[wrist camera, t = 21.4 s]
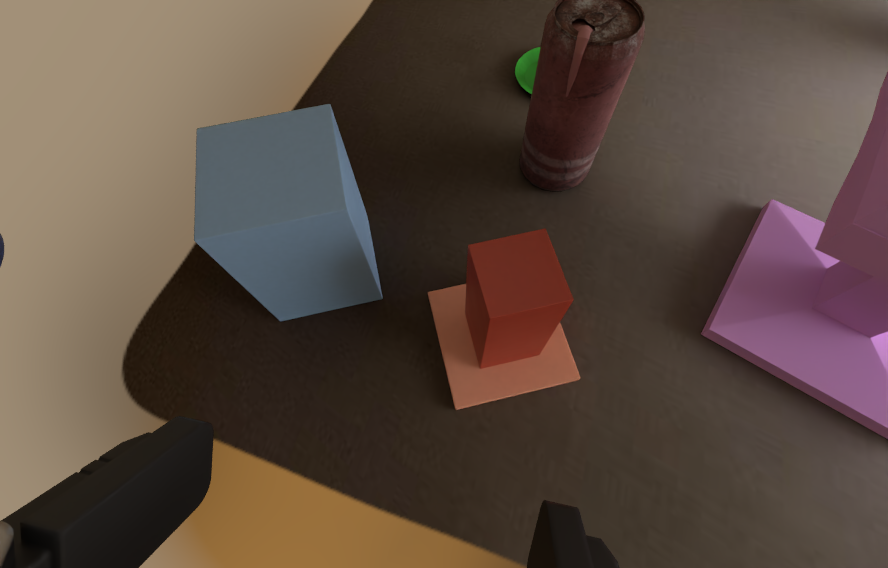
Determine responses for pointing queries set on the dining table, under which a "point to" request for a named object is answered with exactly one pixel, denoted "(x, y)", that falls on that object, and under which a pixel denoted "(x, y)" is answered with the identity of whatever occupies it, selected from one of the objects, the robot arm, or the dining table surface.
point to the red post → (514, 296)
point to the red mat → (499, 379)
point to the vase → (820, 291)
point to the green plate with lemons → (527, 69)
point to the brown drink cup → (578, 87)
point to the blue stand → (285, 212)
